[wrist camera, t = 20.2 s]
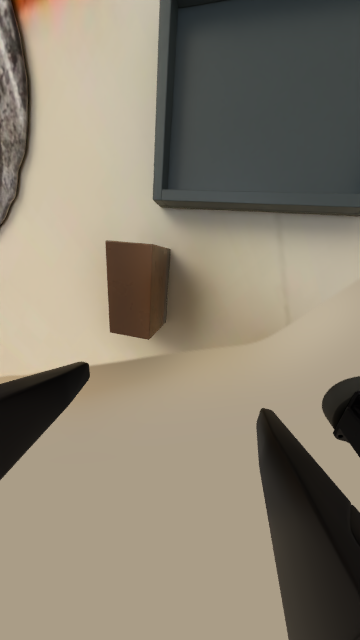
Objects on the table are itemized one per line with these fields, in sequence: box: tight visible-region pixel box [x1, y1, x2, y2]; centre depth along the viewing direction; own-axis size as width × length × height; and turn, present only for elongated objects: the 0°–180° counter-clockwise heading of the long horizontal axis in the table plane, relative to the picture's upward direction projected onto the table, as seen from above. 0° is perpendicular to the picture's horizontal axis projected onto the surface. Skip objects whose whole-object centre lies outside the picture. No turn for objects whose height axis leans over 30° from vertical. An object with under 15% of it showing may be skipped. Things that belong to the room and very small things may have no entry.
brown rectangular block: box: [106, 241, 170, 340], centre depth 17 cm, size 4×8×5 cm, turn 175°
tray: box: [153, 0, 360, 216], centre depth 12 cm, size 17×13×2 cm
